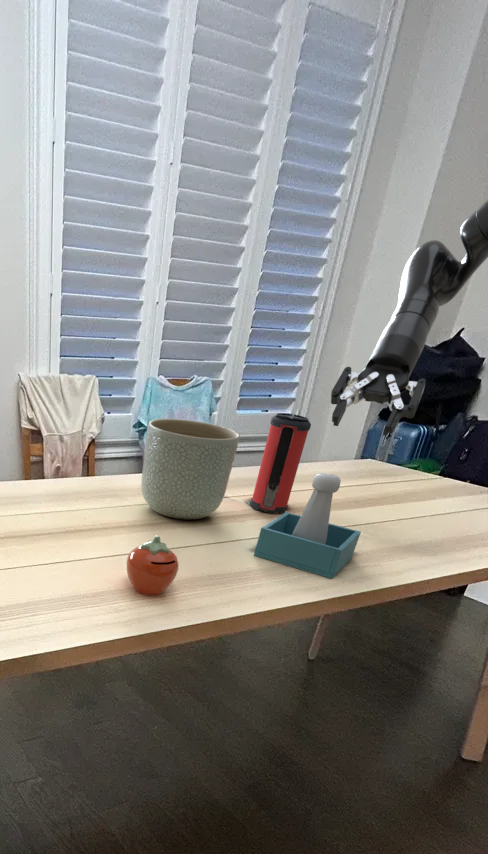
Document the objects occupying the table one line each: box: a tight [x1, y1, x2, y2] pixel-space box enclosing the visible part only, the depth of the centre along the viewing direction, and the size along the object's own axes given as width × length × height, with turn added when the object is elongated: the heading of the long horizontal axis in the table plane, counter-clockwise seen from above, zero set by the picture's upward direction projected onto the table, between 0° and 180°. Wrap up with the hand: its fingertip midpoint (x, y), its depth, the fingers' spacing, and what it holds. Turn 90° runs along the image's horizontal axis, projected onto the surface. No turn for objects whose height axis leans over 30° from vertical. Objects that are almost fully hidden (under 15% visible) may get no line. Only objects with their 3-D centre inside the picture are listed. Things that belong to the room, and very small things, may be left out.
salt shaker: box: [292, 472, 342, 544], centre depth 107 cm, size 6×6×13 cm
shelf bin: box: [253, 511, 362, 579], centre depth 109 cm, size 14×14×5 cm
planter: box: [140, 418, 241, 521], centre depth 121 cm, size 17×17×15 cm
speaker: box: [249, 412, 312, 515], centre depth 129 cm, size 8×8×18 cm
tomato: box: [126, 535, 180, 597], centre depth 89 cm, size 7×7×8 cm
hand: (360, 427), depth 109 cm, fingers open, 8 cm apart
